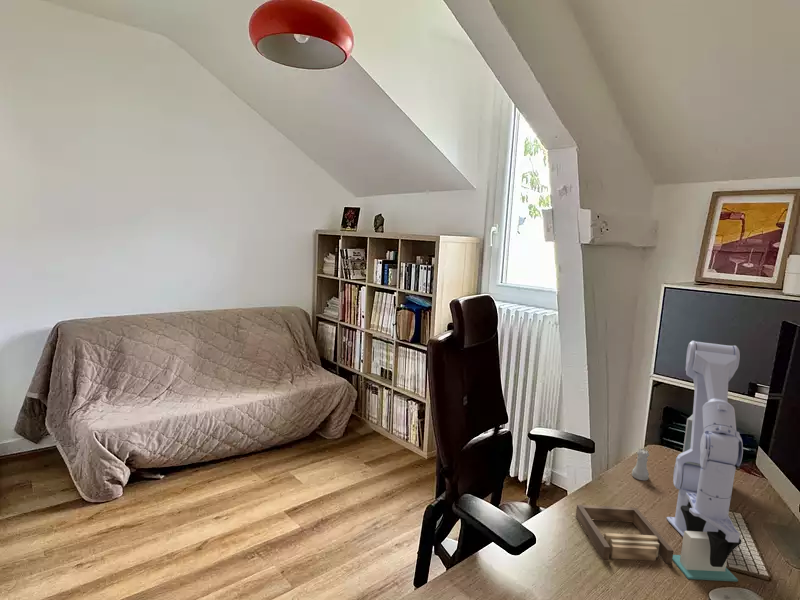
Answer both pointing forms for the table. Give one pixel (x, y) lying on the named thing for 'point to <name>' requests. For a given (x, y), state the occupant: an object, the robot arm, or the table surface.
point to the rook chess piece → (641, 466)
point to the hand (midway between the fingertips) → (704, 553)
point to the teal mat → (704, 573)
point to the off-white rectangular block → (697, 552)
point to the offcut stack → (632, 546)
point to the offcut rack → (618, 514)
